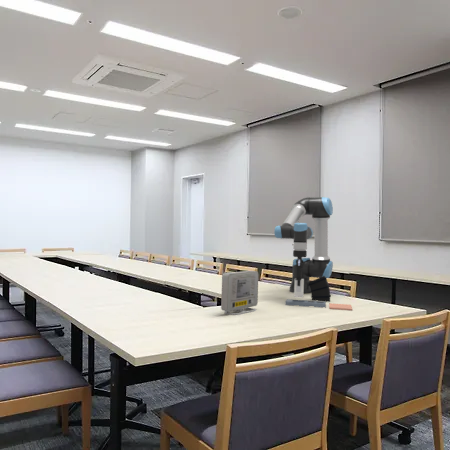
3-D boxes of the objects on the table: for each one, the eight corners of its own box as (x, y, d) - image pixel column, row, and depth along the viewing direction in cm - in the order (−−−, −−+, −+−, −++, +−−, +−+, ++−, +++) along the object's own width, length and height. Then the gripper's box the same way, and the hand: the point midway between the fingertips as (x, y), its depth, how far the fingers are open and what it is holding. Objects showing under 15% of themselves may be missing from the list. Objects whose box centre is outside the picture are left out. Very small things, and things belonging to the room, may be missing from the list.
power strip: (286, 302, 249) (286, 298, 249) (325, 305, 243) (325, 301, 243) (285, 304, 241) (285, 300, 241) (325, 307, 236) (325, 303, 236)
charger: (294, 295, 246) (295, 278, 246) (303, 296, 245) (303, 278, 245) (294, 296, 242) (294, 279, 242) (303, 297, 241) (303, 279, 241)
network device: (248, 307, 230) (249, 270, 230) (261, 309, 224) (262, 271, 225) (217, 313, 210) (218, 273, 210) (231, 316, 205) (232, 274, 205)
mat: (329, 304, 246) (329, 303, 246) (351, 306, 243) (351, 304, 243) (329, 308, 232) (329, 307, 232) (352, 310, 230) (352, 309, 230)
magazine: (334, 299, 254) (324, 276, 257) (314, 307, 259) (304, 283, 262) (335, 298, 258) (325, 275, 260) (315, 306, 263) (306, 283, 265)
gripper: (294, 249, 252) (293, 288, 252) (292, 250, 236) (291, 292, 236) (307, 249, 251) (306, 289, 251) (305, 251, 234) (304, 293, 234)
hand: (298, 291), depth 243 cm, fingers closed on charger, 4 cm apart
